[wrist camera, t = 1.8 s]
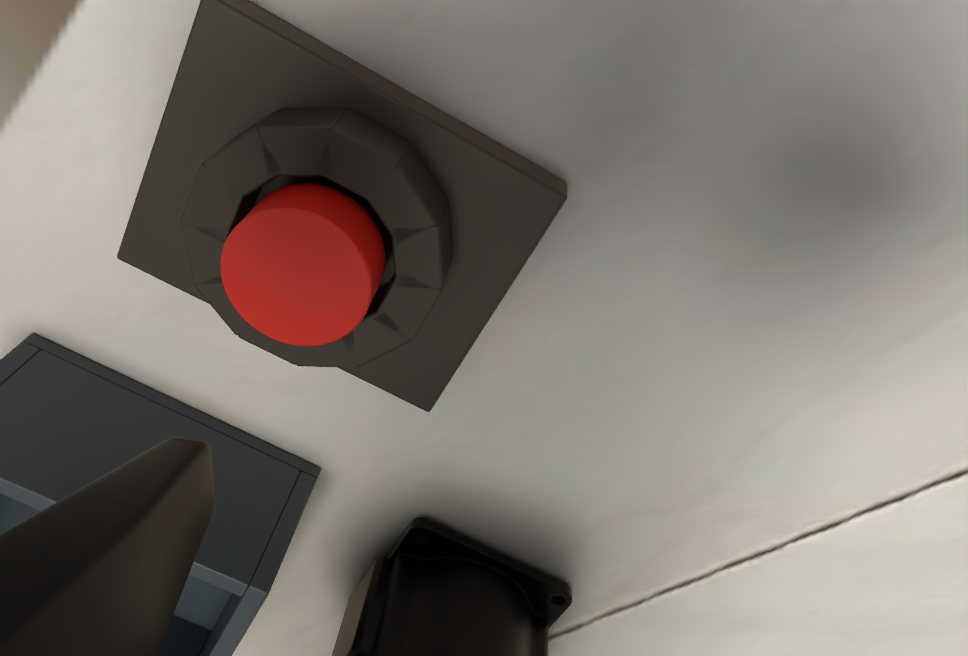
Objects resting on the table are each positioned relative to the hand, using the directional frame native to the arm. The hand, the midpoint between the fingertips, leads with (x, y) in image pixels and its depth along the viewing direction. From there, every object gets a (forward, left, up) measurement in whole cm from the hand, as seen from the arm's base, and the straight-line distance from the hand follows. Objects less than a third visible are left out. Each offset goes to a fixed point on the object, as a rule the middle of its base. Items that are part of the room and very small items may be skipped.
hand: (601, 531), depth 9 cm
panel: (+5, +5, -14) cm, 15 cm away
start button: (+5, +5, -11) cm, 13 cm away
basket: (+7, +19, -14) cm, 24 cm away
